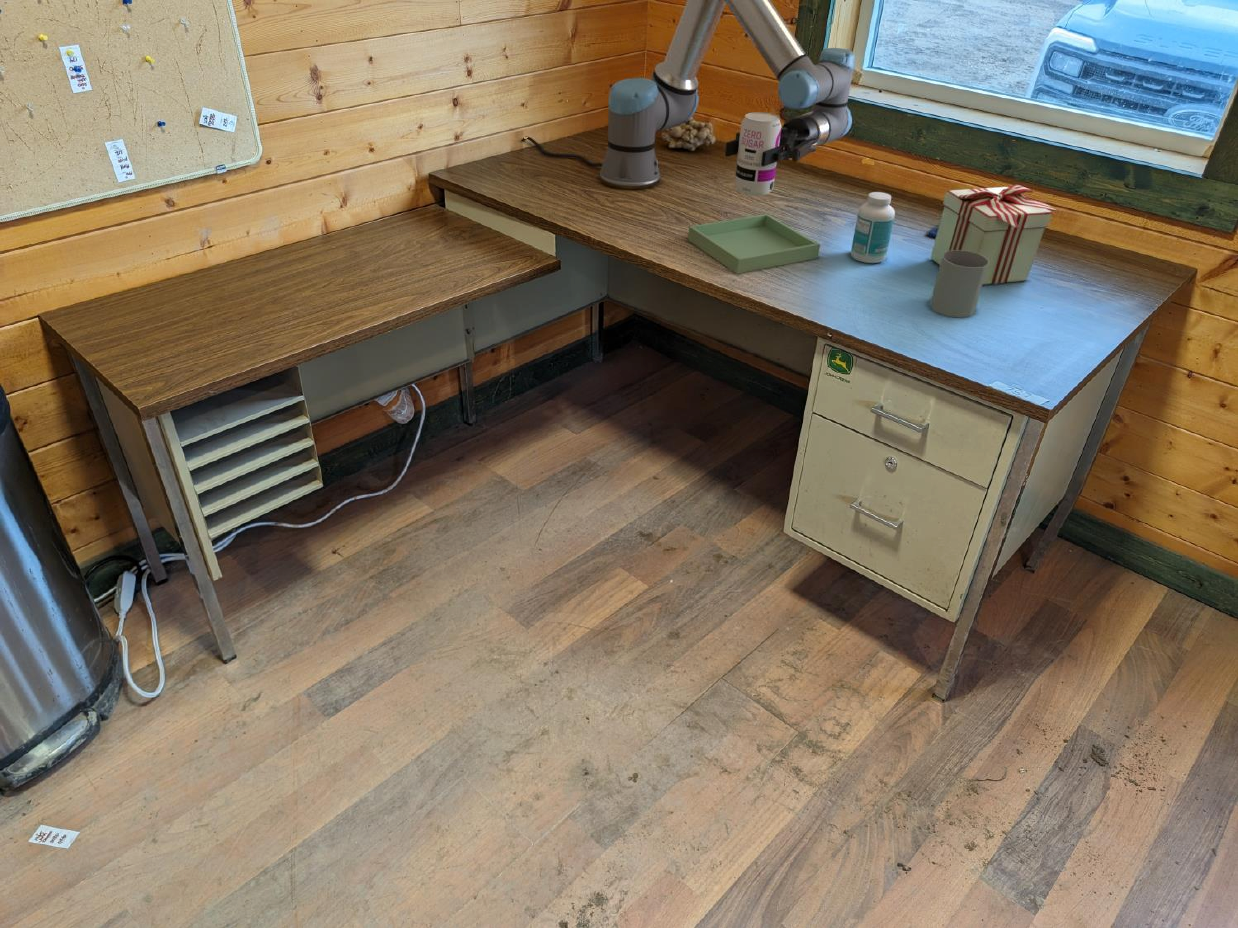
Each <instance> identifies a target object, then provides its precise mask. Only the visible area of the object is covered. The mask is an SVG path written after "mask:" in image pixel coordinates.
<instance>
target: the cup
mask: <svg viewBox="0 0 1238 928" xmlns="http://www.w3.org/2000/svg"><path fill="white" fill-rule="evenodd" d="M988 264H989V261H988V260H987V259H986V258H985V257H984V256H982V255H980V254H977V253H974V252H970V251H963V250H952V251H947V252H945V253H943V256H942V260H941V263H940V265H939V267H938V271H937V274H936V275H937V276H936V279H935V283H934V287H933V291H932V295H931V297H930V303H929V307H930V308H931V309H932V311H934V312H936V313H938V314H939V315H943V316H947V317H949V318H959V319H961V318H968V317H970V316H973V315H974V314H975V311H976V308H977V304H978V301H979V298H980V295H981V292H982V289H983V286H984V285H983V281H984V278H985V275H986V271H987V268H988Z"/></svg>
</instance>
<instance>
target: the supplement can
mask: <svg viewBox="0 0 1238 928" xmlns="http://www.w3.org/2000/svg"><path fill="white" fill-rule="evenodd" d="M780 119H781V118H780V116H779V115H777V114H774V113H769V112H762V111H761V112H760V111H759V112H758V111H757V112H748V113H746V114H745V115H744V118H743V119H742V121H741V122H740V129H739V132H740V139H739V148H738V153H737V156H736V157H737V158H736V168H735V176H734V185H733V186H734V188H735V189H736V191H737V192H739V193H741V194H743V195H747V196H752V197H753V196H754V197H755V196H756V197H757V196H759V197H760V196H761V197H762V196H765V195H768V194H769V193H770V192H772V191H773V190H774V187H775V178H776V170H777V164H778V163H777V162H778V161H777V162H775V163H772V164H769V165H767V166H761V162H762V154H763V152H764V151H767V150H770V149H773V148H775V147H778V146H779V142H780V135H781V128H782V127H783V125H782V123H781V120H780Z"/></svg>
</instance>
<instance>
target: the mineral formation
mask: <svg viewBox="0 0 1238 928" xmlns="http://www.w3.org/2000/svg"><path fill="white" fill-rule="evenodd" d="M665 130H666V132H662V133H661V137H662V139H663V141H664V142H665V141H666V142H668V148H669V149H680V148H683V149H686V150H688V151H690V152H694V151H696V149H697V148H698V147H700V146H701V145H706V147H708V146H709V145H713V144H715V143H716V142H717V140H716V137H715V135H714V132H713V131H714V128H713V124H712V123H711V122H702V121H696V120H695V119H694V118H693V116H692V117H691V118H690V119H689V120H688V121H686V122H684V123H682V124H681V125H679V126H676V127H672V128H668V129H665Z"/></svg>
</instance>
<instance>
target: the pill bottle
mask: <svg viewBox="0 0 1238 928" xmlns="http://www.w3.org/2000/svg"><path fill="white" fill-rule="evenodd" d="M866 200H867V202H865V203H863V204H861V205H860V206H859V208H858V211H857V215H856V216H857V217H856V222H855V227H854V232H853V238H852V243H851V249H850V256H851V257H852V258H853V259H854V260H856V261H858V262H861V263H866V264H878V263H881V262H883V261H885V259H886V257H887V253H888V250H889V244H890V240H891V235H892V229H893V226H894V225H893V224H894V220H895V215H896V211H895V209H894V207H892V206H891V205H890V204H891V202H892V195H891V194H889V193H887V192H882V191H873V192H870V193H868V194H867V199H866Z"/></svg>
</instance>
